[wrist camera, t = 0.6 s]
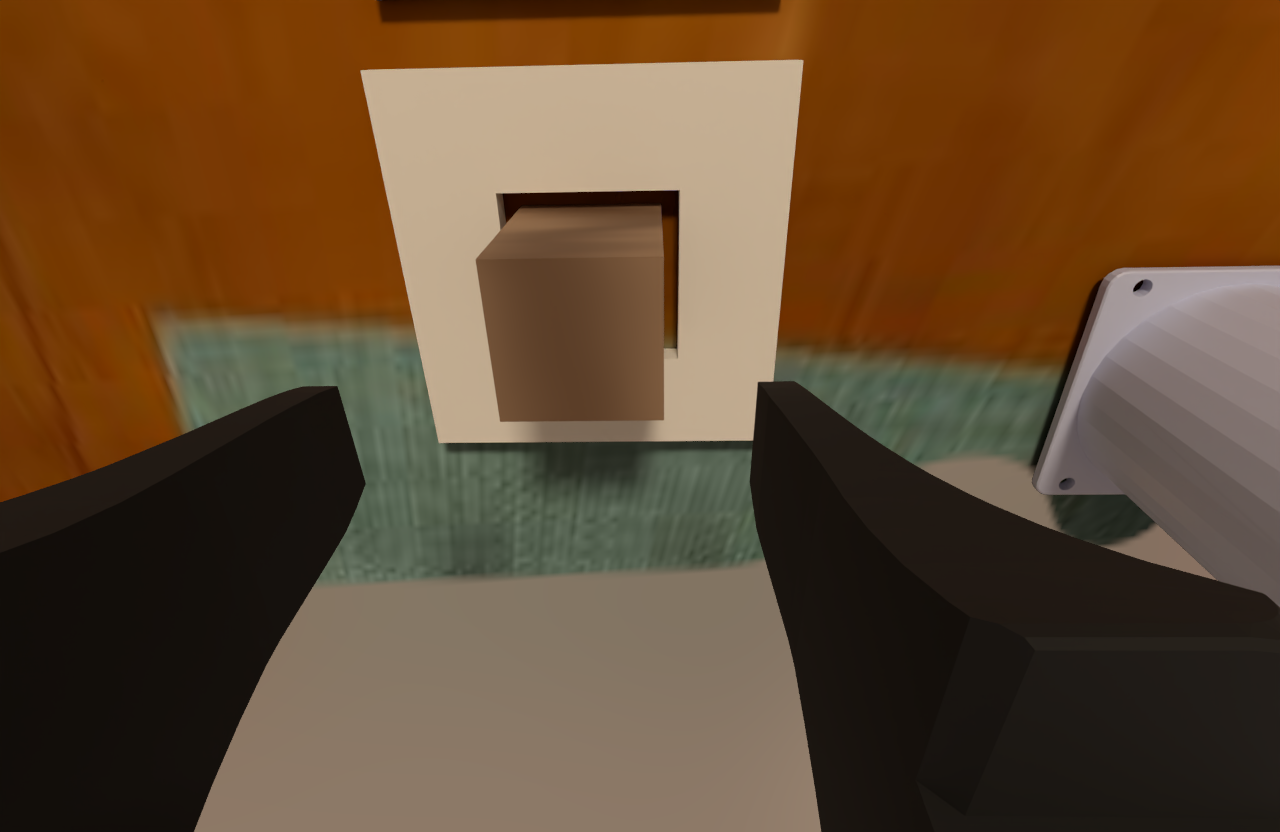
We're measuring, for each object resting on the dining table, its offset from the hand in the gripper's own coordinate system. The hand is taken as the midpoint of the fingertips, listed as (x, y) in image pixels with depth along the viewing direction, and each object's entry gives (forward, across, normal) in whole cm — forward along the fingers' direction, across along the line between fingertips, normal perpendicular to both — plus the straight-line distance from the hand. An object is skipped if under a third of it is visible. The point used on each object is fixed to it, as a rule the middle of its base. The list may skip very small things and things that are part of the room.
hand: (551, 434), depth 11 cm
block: (+9, 0, 0) cm, 9 cm away
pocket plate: (+9, 0, 0) cm, 9 cm away
